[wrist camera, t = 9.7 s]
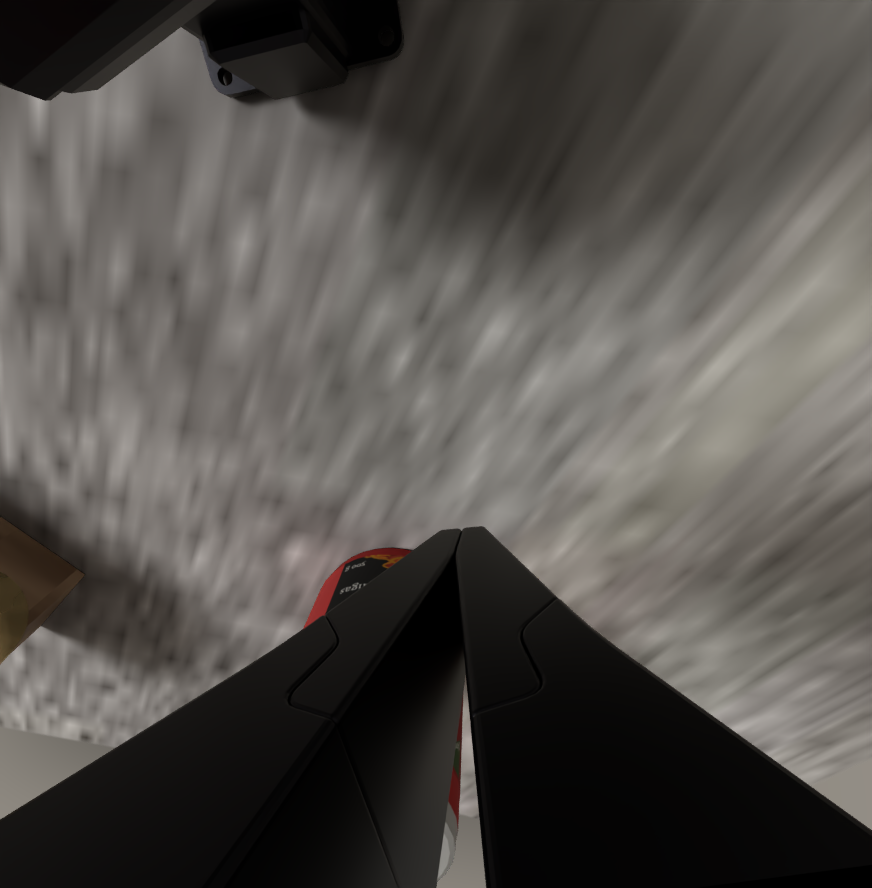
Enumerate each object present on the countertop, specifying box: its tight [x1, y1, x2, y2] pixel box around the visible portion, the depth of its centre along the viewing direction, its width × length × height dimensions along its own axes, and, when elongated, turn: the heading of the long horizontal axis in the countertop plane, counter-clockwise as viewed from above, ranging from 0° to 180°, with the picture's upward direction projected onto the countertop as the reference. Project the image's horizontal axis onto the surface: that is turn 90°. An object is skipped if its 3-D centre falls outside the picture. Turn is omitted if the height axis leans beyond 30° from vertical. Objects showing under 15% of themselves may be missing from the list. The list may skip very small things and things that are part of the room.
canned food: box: [303, 548, 463, 882], centre depth 20 cm, size 8×8×11 cm
